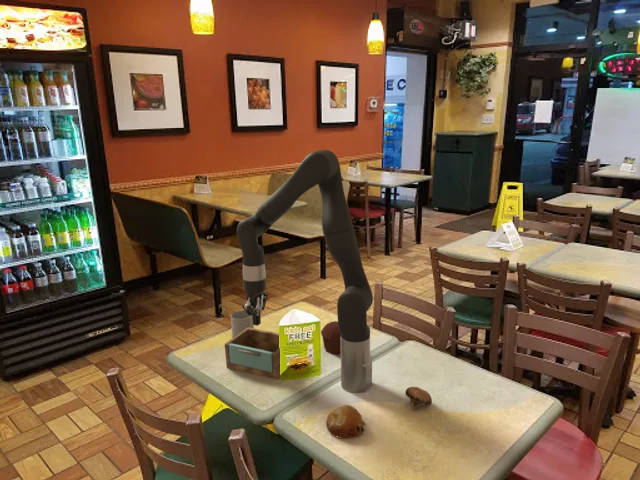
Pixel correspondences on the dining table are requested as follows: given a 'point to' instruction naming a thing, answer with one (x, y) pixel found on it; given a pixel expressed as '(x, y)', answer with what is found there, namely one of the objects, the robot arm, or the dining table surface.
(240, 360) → the panel
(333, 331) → the muffin
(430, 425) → the dining table surface
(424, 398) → the mushroom
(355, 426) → the bread roll
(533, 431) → the dining table surface
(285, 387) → the dining table surface
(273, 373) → the box
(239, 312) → the cup
